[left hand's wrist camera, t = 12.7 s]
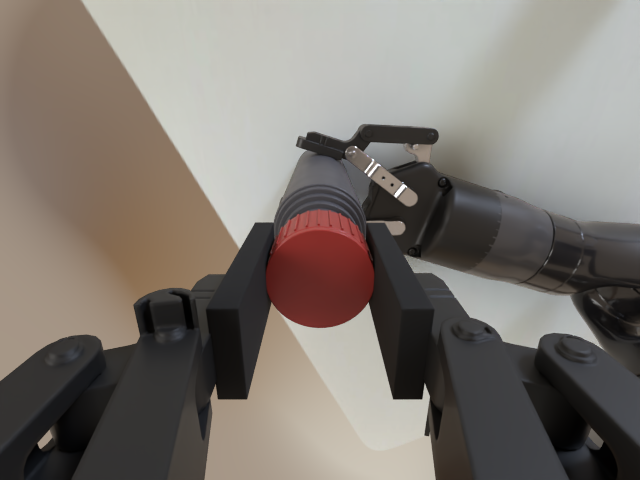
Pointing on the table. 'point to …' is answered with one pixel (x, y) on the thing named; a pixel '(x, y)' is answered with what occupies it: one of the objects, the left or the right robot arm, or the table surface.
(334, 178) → the bottle
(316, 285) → the cap
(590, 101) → the table surface
